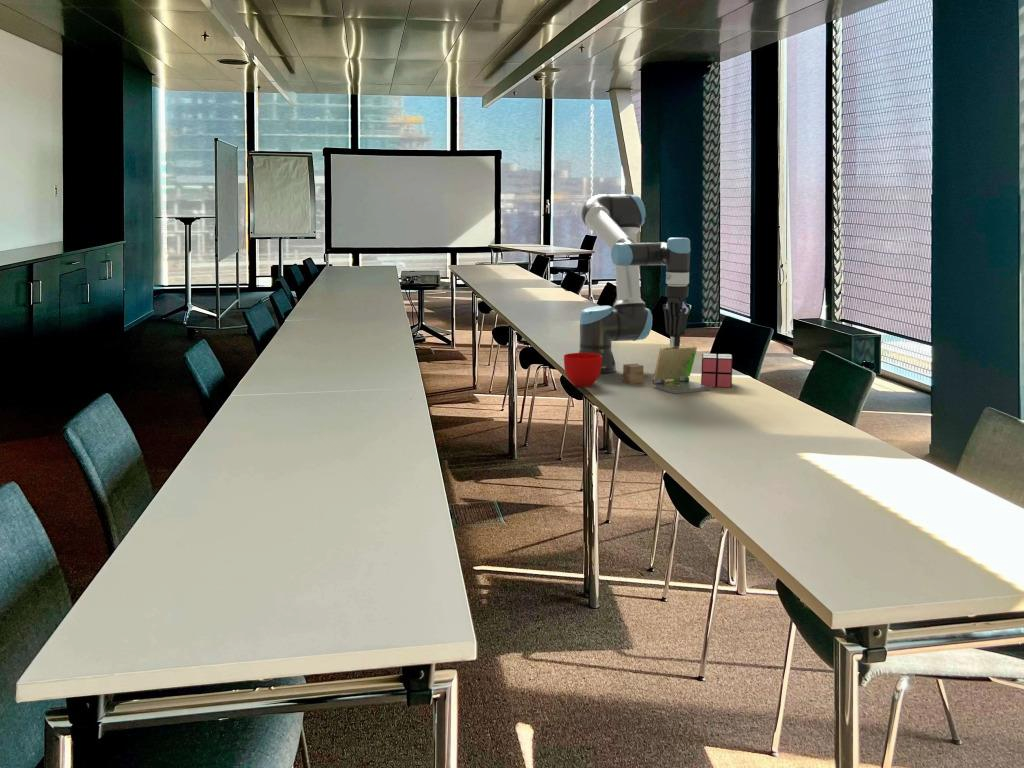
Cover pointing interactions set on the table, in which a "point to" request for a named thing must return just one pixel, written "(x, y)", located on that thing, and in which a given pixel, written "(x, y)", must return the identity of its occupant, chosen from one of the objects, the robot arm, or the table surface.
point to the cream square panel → (674, 363)
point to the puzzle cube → (717, 370)
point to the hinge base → (680, 386)
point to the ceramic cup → (582, 368)
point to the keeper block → (633, 373)
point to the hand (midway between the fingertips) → (674, 355)
